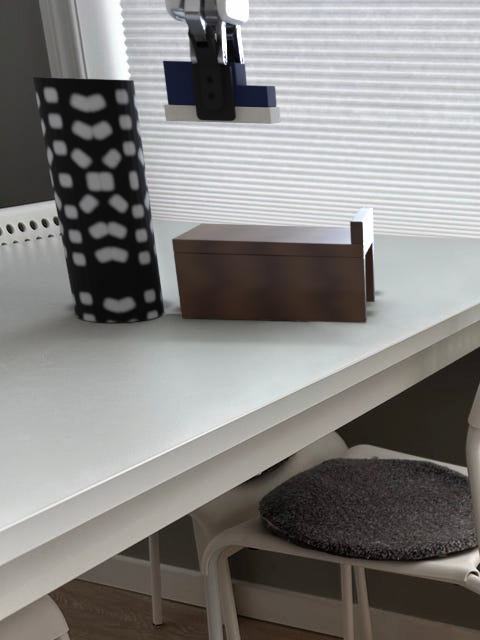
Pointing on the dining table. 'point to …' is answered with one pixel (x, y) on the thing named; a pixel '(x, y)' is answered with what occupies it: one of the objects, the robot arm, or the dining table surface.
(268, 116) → the trainer
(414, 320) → the dining table surface
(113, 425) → the dining table surface
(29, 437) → the dining table surface
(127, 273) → the spotted tube
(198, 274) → the wooden storage chest
